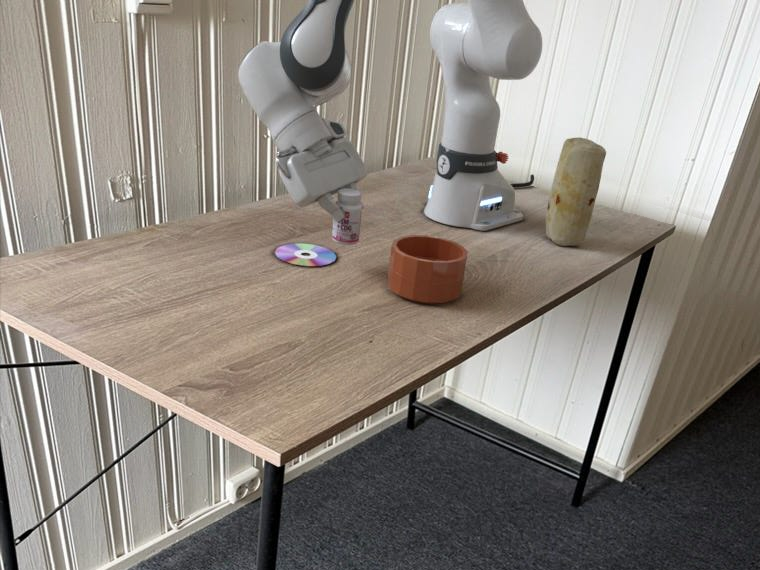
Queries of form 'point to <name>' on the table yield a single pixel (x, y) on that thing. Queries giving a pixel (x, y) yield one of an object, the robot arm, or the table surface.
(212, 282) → the table surface
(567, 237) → the food model
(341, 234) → the pill bottle
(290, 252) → the cd
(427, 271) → the pot
